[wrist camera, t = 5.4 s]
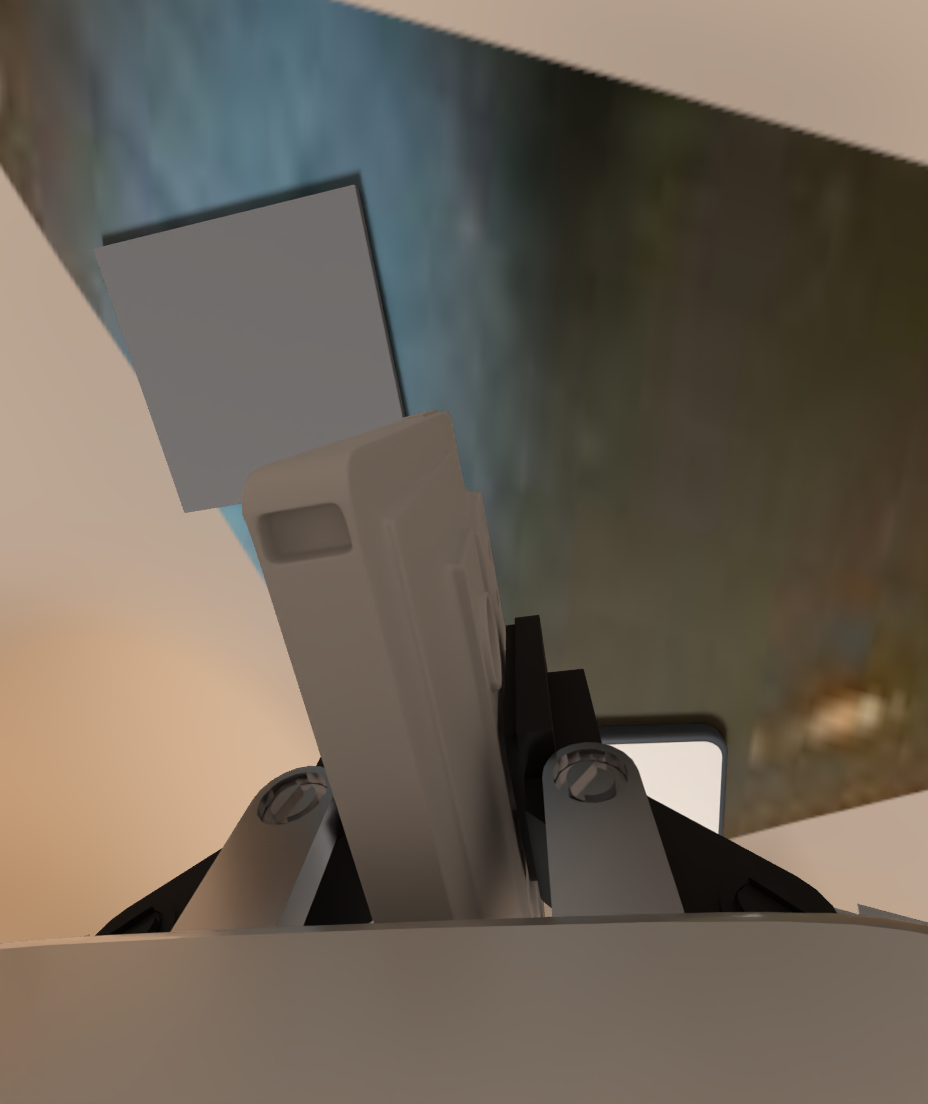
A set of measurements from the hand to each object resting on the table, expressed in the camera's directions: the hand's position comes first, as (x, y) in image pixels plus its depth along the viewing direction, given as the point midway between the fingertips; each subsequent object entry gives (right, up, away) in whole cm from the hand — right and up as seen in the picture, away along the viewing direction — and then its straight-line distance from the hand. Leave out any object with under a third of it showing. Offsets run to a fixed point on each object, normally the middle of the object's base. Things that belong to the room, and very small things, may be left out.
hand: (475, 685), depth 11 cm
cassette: (0, 0, +2) cm, 2 cm away
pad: (-9, +12, +12) cm, 20 cm away
